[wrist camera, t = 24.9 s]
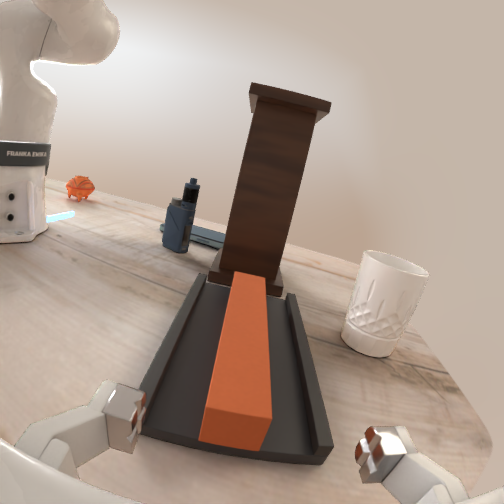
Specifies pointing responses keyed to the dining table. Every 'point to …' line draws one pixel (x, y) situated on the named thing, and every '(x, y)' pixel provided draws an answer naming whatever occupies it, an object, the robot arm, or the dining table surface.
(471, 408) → the dining table surface
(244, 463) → the dining table surface
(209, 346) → the seat base
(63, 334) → the dining table surface
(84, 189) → the pot
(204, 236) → the smartphone
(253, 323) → the orange long block
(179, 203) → the vaping device
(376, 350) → the white cup
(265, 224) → the wooden display pedestal
